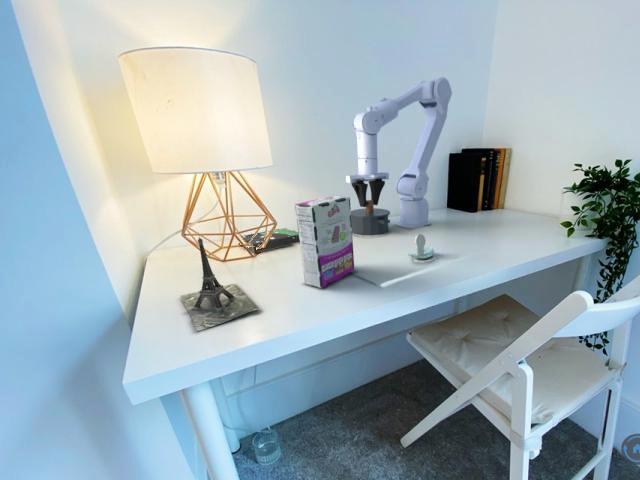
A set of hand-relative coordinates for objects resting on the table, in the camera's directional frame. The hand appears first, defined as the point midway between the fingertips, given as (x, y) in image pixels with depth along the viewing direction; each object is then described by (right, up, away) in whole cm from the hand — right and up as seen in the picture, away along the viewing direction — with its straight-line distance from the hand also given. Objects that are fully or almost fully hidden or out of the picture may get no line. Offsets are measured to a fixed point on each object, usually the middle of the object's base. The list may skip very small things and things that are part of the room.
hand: (368, 205), depth 104 cm
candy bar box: (-7, -23, -32) cm, 40 cm away
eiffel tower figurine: (-25, -29, -43) cm, 57 cm away
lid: (0, -2, +1) cm, 2 cm away
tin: (0, -8, +3) cm, 8 cm away
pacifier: (+14, -19, -22) cm, 32 cm away
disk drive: (-27, -13, -8) cm, 31 cm away
